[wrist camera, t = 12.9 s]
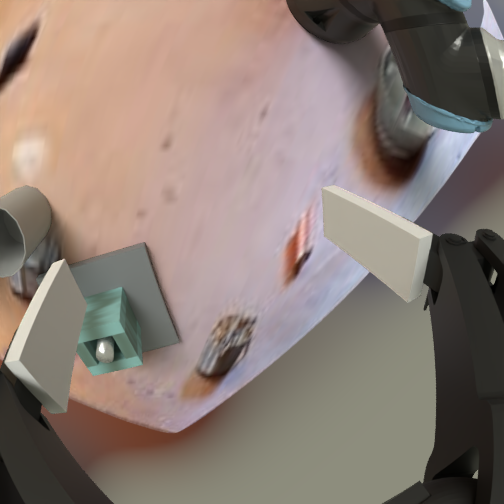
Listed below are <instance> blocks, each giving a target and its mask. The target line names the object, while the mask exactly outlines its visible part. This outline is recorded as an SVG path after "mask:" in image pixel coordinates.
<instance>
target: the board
mask: <svg viewBox="0 0 504 504" xmlns="http://www.w3.org/2000/svg"><path fill="white" fill-rule="evenodd" d="M68 266H69V269H70V271H71V273H72V275H73V277H74V279H75V281H76V283H77V285H78V287H79V289H80V291H81V293H82V295H83V297H88V296H91V295H95V294H98V293H102V292H105V291H109V290H112V289H116V288H119V287H123V290H124V292H125V294H126V297H127V299H128V301H129V304H130V306H131V308H132V311H133V313H134V315H135V317H136V319H137V321H138V324H139V326H140V328H141V344H142V352H146V351H150V350H154V349H158V348H161V347H165V346H169V345H172V344H176V343H179V338H178V335H177V333H176V330H175V328H174V325H173V322H172V320H171V317H170V315H169V312H168V309H167V307H166V304H165V301H164V299H163V296H162V293H161V290H160V287H159V285H158V282H157V279H156V276H155V273H154V270H153V267H152V264H151V261H150V258H149V255H148V251H147V248H146V245H145V242H144V243H140V244H137V245H133V246H130V247H126V248H123V249H120V250H116V251H113V252H109V253H106V254H103V255H100V256H96V257H93V258H90V259H87V260H83V261H80V262H77V263H74V264H71V265H68ZM46 274H47V272H46V273H43V274H40V275H39V276H38V277H37V279H36V281H37V283H38V285H39V286H40V284H41V283H42V281H43V279H44V277H45V275H46Z"/></svg>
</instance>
